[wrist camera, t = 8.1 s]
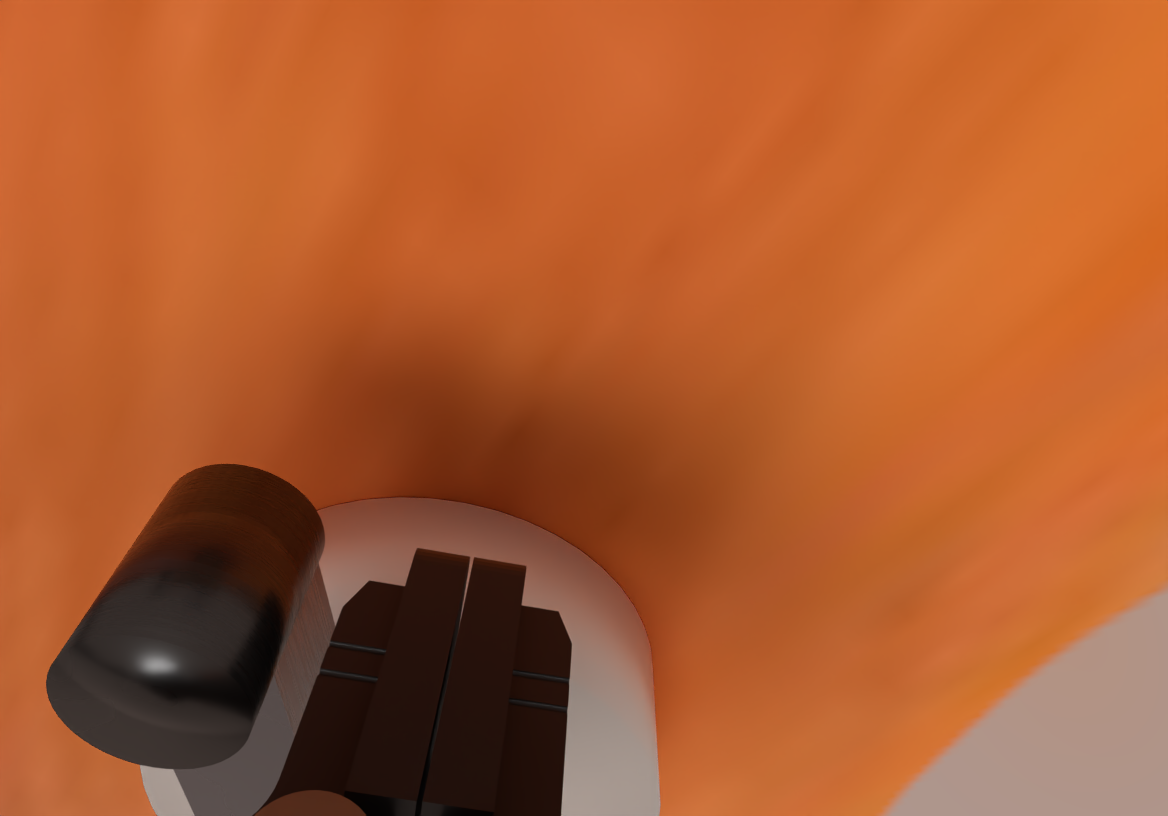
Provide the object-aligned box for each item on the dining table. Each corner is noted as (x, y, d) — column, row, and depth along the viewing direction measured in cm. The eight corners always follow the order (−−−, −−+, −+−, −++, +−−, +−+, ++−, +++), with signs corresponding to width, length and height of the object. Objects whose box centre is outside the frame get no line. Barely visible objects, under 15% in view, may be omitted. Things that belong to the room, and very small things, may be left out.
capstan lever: (504, 867, 22) (474, 1166, 17) (326, 867, 22) (245, 1163, 17) (426, 356, 14) (329, 634, 9) (152, 362, 14) (-89, 639, 9)
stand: (467, 849, 29) (445, 1007, 25) (126, 674, 24) (36, 831, 21) (745, 667, 24) (772, 828, 20) (379, 408, 19) (323, 548, 16)
